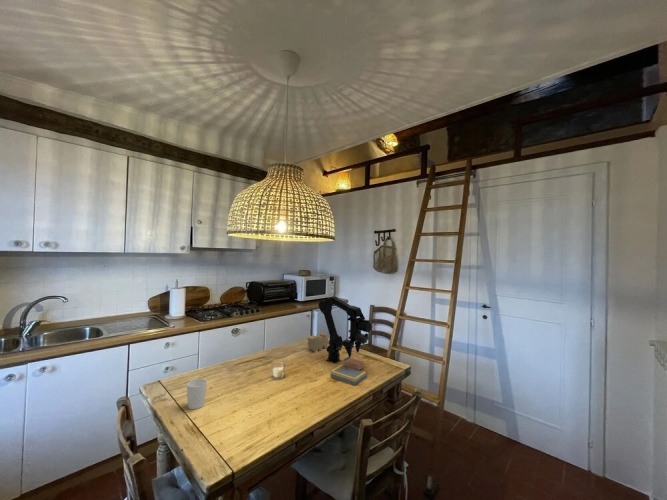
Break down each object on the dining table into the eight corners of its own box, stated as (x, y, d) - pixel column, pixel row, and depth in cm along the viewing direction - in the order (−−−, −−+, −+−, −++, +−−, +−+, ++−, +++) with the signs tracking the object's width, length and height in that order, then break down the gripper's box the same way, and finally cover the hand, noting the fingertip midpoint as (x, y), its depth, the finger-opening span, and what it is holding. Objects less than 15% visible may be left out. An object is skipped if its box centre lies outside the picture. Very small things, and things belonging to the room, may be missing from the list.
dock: (330, 377, 155) (330, 370, 155) (343, 369, 166) (343, 363, 166) (355, 385, 146) (355, 379, 146) (367, 377, 157) (367, 370, 157)
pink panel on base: (343, 367, 168) (344, 359, 168) (348, 364, 173) (349, 356, 173) (358, 372, 163) (358, 363, 163) (363, 368, 168) (363, 360, 168)
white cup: (192, 400, 127) (193, 378, 127) (209, 400, 127) (210, 379, 127) (182, 409, 120) (183, 386, 120) (200, 410, 119) (201, 387, 119)
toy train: (329, 347, 202) (329, 333, 202) (312, 353, 190) (312, 338, 190) (324, 345, 206) (324, 332, 206) (306, 351, 194) (307, 336, 194)
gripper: (358, 335, 156) (357, 362, 156) (373, 327, 171) (372, 353, 171) (342, 331, 162) (341, 357, 162) (357, 324, 177) (356, 349, 177)
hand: (353, 354), depth 168 cm, fingers open, 9 cm apart
